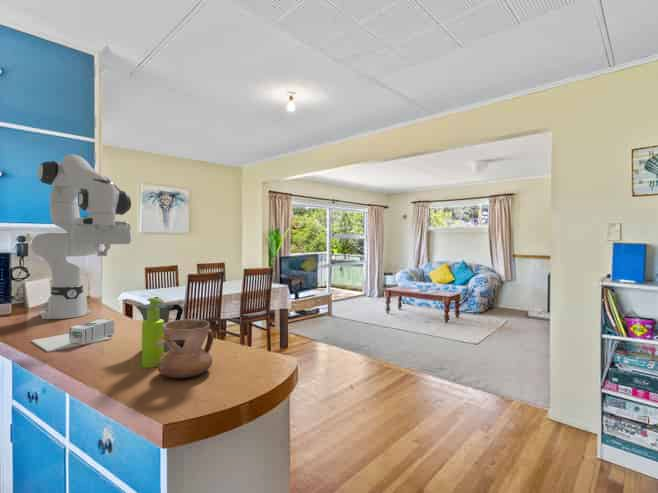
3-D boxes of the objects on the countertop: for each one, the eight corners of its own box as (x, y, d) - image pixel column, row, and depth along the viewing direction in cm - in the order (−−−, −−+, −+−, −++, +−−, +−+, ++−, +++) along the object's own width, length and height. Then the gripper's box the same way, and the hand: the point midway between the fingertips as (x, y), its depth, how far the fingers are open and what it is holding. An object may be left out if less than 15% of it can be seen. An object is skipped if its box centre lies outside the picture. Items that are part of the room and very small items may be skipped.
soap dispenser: (151, 370, 101) (151, 301, 100) (137, 365, 104) (138, 298, 104) (169, 364, 106) (170, 298, 105) (156, 359, 109) (156, 295, 109)
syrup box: (115, 318, 135) (83, 327, 120) (114, 334, 135) (83, 344, 120) (101, 318, 136) (68, 326, 121) (101, 333, 136) (68, 343, 121)
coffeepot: (128, 354, 113) (129, 299, 113) (143, 345, 123) (143, 294, 122) (176, 354, 114) (177, 299, 114) (187, 345, 123) (188, 295, 123)
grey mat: (31, 341, 125) (31, 340, 125) (91, 330, 140) (91, 329, 140) (47, 352, 114) (47, 350, 114) (111, 339, 129) (111, 337, 129)
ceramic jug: (172, 390, 88) (174, 333, 88) (141, 376, 96) (143, 324, 96) (228, 369, 103) (230, 321, 103) (197, 359, 111) (199, 314, 111)
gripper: (127, 221, 147) (126, 254, 147) (68, 219, 130) (68, 256, 131) (133, 221, 143) (133, 255, 143) (74, 219, 127) (74, 257, 127)
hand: (102, 255), depth 137 cm, fingers closed
